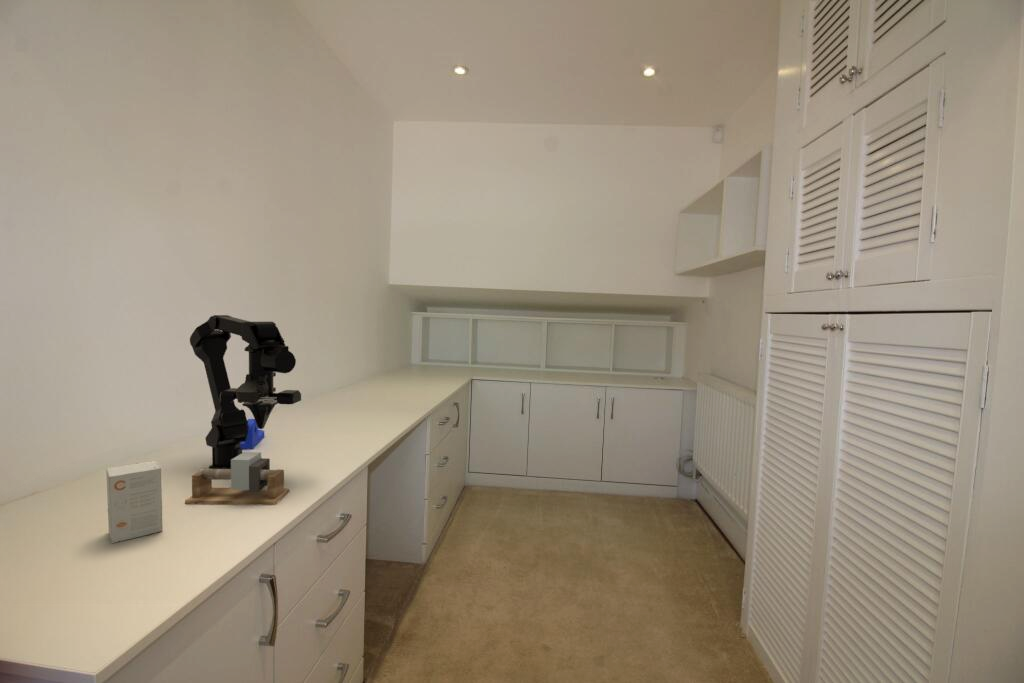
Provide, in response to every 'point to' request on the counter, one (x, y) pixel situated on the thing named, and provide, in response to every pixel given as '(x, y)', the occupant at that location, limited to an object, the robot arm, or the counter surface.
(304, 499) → the counter surface
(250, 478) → the collar
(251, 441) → the bracket
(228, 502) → the wooden rail stand
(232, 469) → the sleeve
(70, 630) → the counter surface
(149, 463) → the small box
